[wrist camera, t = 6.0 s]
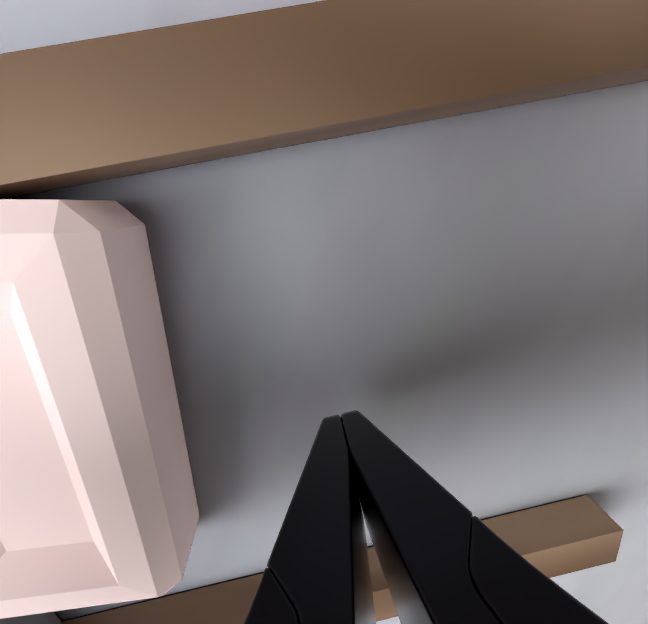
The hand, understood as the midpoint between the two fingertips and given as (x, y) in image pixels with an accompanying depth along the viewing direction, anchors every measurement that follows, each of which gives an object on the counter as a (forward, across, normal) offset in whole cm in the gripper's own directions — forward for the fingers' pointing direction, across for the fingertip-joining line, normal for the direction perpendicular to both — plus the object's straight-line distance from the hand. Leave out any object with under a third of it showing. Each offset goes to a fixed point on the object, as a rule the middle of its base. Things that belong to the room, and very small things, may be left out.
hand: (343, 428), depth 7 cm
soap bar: (+2, +6, -2) cm, 7 cm away
